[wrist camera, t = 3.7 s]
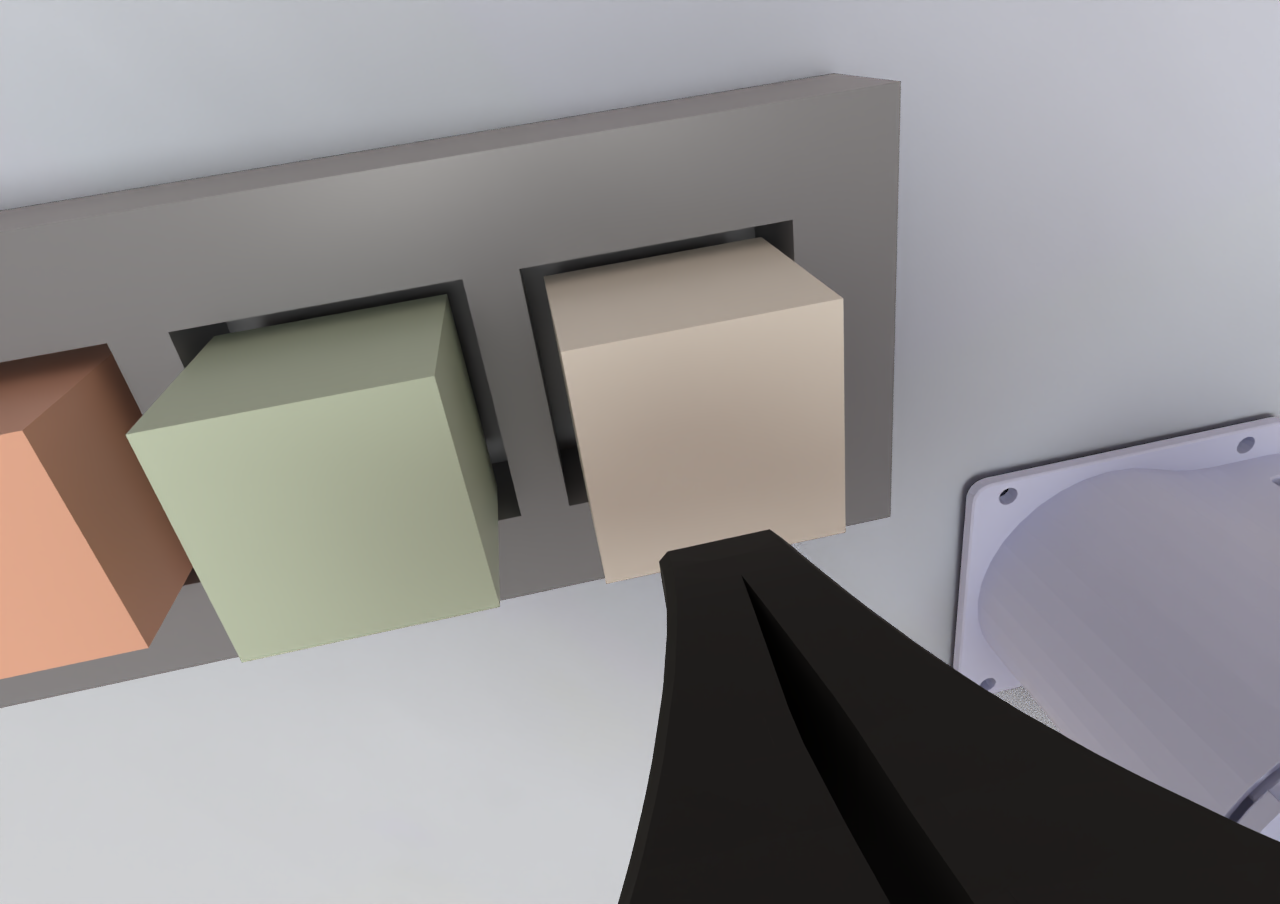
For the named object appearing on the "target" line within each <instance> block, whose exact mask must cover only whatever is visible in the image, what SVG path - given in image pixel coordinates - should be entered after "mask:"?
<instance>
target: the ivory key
mask: <svg viewBox="0 0 1280 904" xmlns="http://www.w3.org/2000/svg"><path fill="white" fill-rule="evenodd" d="M544 281H545V286H546V291H547V296H548V302H549V307H550V312H551V317H552V322H553V327H554V332H555V337H556V342H557V347H558V352H559V357H560V362H561V367H562V372H563V377H564V382H565V387H566V392H567V398H568V403H569V408H570V413H571V418H572V423H573V428H574V433H575V438H576V443H577V448H578V453H579V458H580V463H581V468H582V473H583V478H584V482H585V487H586V492H587V496H588V501H589V505H590V510H591V515H592V519H593V524H594V529H595V533H596V538H597V543H598V547H599V552H600V556H601V561H602V566H603V570H604V575H605V580H606V584H608V583H613V582H618V581H622V580H627V579H631V578H636V577H641V576H645V575H650V574H655V573H659V572H661V571H660V565H659V561H660V560H661V559H662V557H663V556H664V555H665V554H666V552H667V551H672V550H676V549H681V548H685V547H690V546H695V545H699V544H704V543H708V542H713V541H718V540H722V539H727V538H731V537H736V536H740V535H745V534H750V533H754V532H759V531H763V530H768V529H770V530H772V531H773V532H774V533H776V534H777V535H779V536H780V537H781V538H783V539H784V540H785V541H786V542H787V543H789V544H794V543H798V542H803V541H808V540H812V539H817V538H822V537H826V536H831V535H835V534H840V533H845V532H846V521H845V416H844V310H843V298H842V297H841V296H839V295H838V294H837V293H835V292H834V291H833V290H831V289H830V288H829V287H827V286H826V285H825V284H823V283H822V282H821V281H819V280H818V279H817V278H815V277H814V276H813V275H811V274H810V273H809V272H807V271H806V270H805V269H803V268H802V267H801V266H799V265H798V264H797V263H795V262H794V261H793V260H791V259H790V258H789V257H787V256H786V255H785V254H783V253H782V252H781V251H779V250H778V249H777V248H775V247H774V246H773V245H771V244H770V243H769V242H767V241H766V240H765V239H763V238H762V237H758V238H752V239H747V240H741V241H736V242H730V243H725V244H719V245H714V246H708V247H703V248H697V249H692V250H686V251H681V252H675V253H670V254H664V255H659V256H653V257H648V258H642V259H637V260H631V261H626V262H620V263H615V264H609V265H603V266H598V267H592V268H587V269H581V270H576V271H570V272H565V273H559V274H554V275H548V276H544Z"/></svg>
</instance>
